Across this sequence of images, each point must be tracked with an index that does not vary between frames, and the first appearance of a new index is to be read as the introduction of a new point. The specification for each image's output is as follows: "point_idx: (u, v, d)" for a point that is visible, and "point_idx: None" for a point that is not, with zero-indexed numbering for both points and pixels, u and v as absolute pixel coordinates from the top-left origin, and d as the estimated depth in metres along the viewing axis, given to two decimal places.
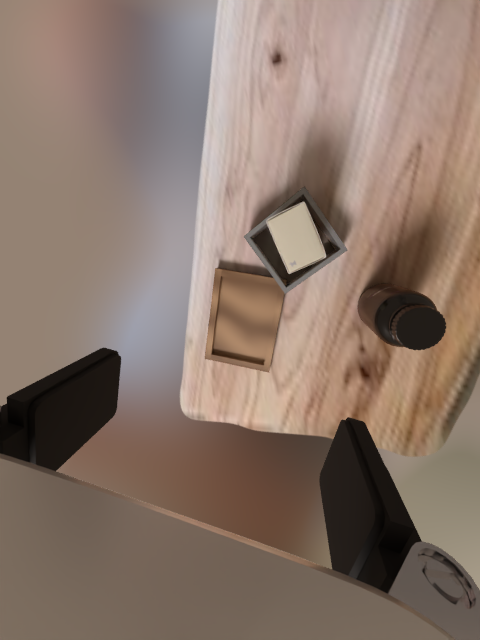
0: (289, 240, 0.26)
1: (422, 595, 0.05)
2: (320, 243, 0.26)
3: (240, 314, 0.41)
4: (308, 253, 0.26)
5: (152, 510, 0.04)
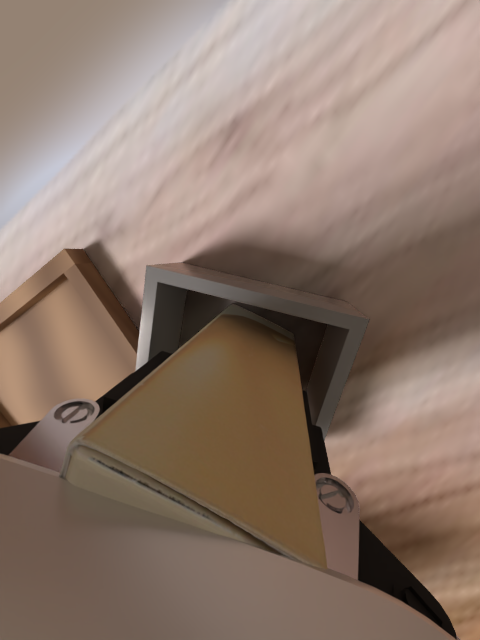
0: None
1: (320, 518, 0.06)
2: None
3: (54, 359, 0.18)
4: None
5: None
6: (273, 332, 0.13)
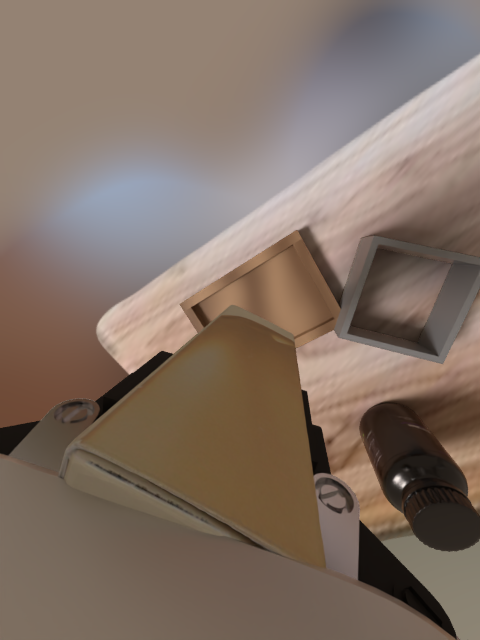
0: None
1: (320, 518, 0.06)
2: None
3: (264, 301, 0.29)
4: None
5: None
6: (273, 333, 0.13)
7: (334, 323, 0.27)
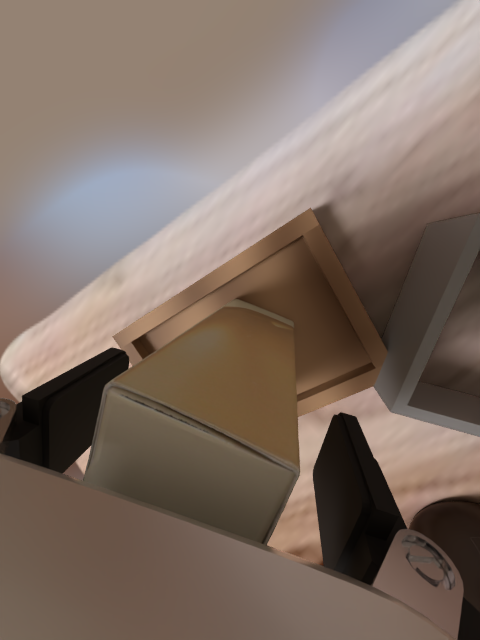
0: None
1: (406, 580, 0.05)
2: None
3: None
4: None
5: (152, 510, 0.04)
6: (272, 320, 0.14)
7: (375, 375, 0.15)
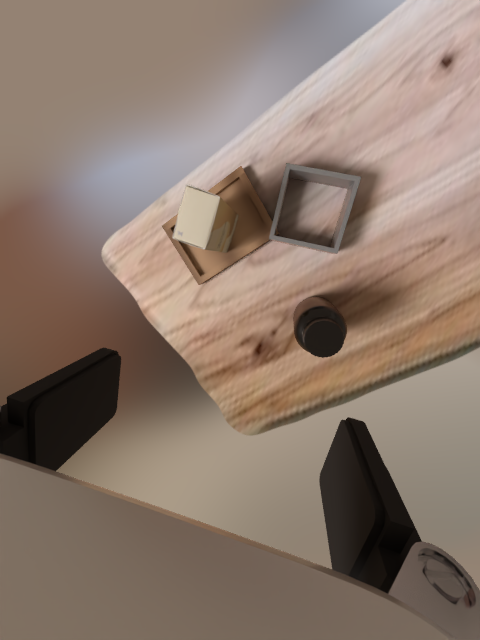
0: (189, 214, 0.29)
1: (422, 595, 0.05)
2: (208, 236, 0.29)
3: None
4: (195, 235, 0.29)
5: (152, 510, 0.04)
6: None
7: None
